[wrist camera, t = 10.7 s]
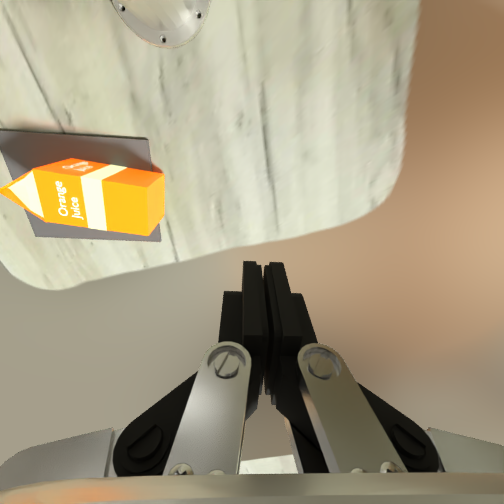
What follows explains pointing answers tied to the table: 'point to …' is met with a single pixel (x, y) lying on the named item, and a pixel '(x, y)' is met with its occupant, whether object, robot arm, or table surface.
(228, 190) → the table surface
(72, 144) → the mat
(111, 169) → the orange juice
